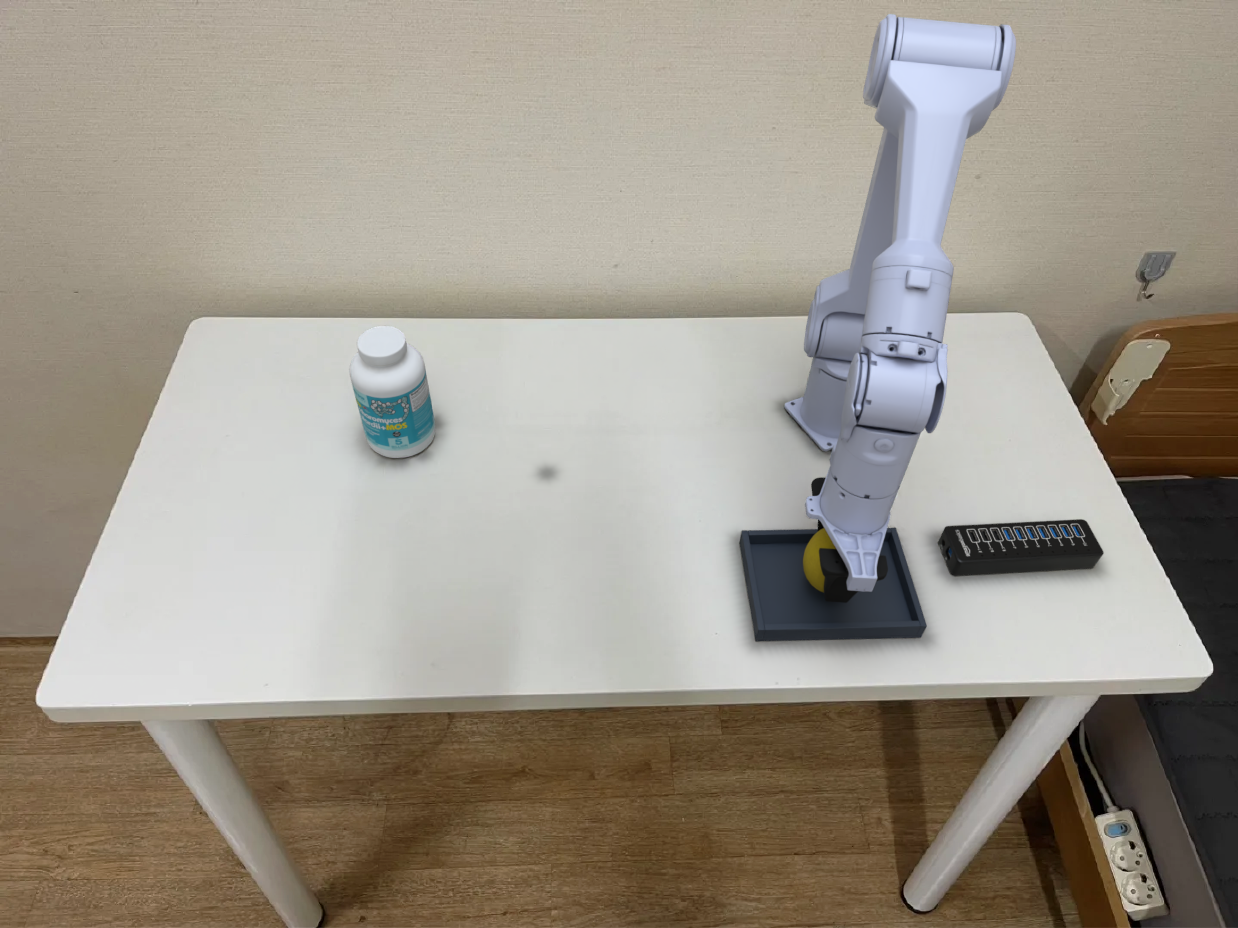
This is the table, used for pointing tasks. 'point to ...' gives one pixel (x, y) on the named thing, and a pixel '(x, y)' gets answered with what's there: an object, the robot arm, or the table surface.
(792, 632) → the tray
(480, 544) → the table surface
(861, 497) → the robot arm
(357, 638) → the table surface
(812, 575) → the lemon
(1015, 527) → the multiport hub
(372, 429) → the pill bottle
